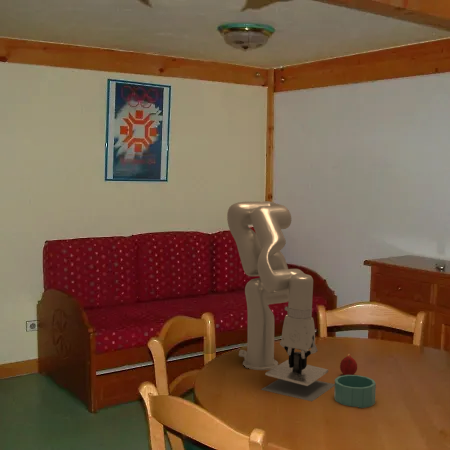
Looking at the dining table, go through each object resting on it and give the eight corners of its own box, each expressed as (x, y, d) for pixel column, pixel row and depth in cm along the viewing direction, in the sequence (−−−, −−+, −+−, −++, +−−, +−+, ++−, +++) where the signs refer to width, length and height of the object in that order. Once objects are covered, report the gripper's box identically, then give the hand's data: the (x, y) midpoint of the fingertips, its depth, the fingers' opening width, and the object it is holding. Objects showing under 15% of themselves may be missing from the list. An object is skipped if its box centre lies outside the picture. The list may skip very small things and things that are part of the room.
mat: (260, 390, 208) (260, 389, 208) (287, 375, 223) (287, 374, 223) (311, 402, 198) (311, 401, 198) (336, 385, 213) (336, 384, 213)
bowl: (328, 402, 198) (328, 383, 197) (344, 390, 208) (344, 372, 207) (365, 410, 191) (366, 391, 191) (380, 398, 201) (380, 379, 201)
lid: (265, 375, 209) (266, 354, 208) (287, 362, 221) (288, 342, 220) (307, 386, 201) (308, 364, 200) (328, 371, 213) (329, 351, 212)
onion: (357, 380, 218) (357, 357, 217) (339, 379, 219) (340, 356, 218) (357, 375, 223) (357, 352, 222) (340, 373, 224) (340, 351, 224)
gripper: (271, 310, 209) (269, 365, 212) (318, 320, 200) (315, 377, 203) (282, 306, 215) (280, 359, 218) (328, 314, 207) (325, 370, 209)
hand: (297, 367), depth 211 cm, fingers closed on lid, 3 cm apart
